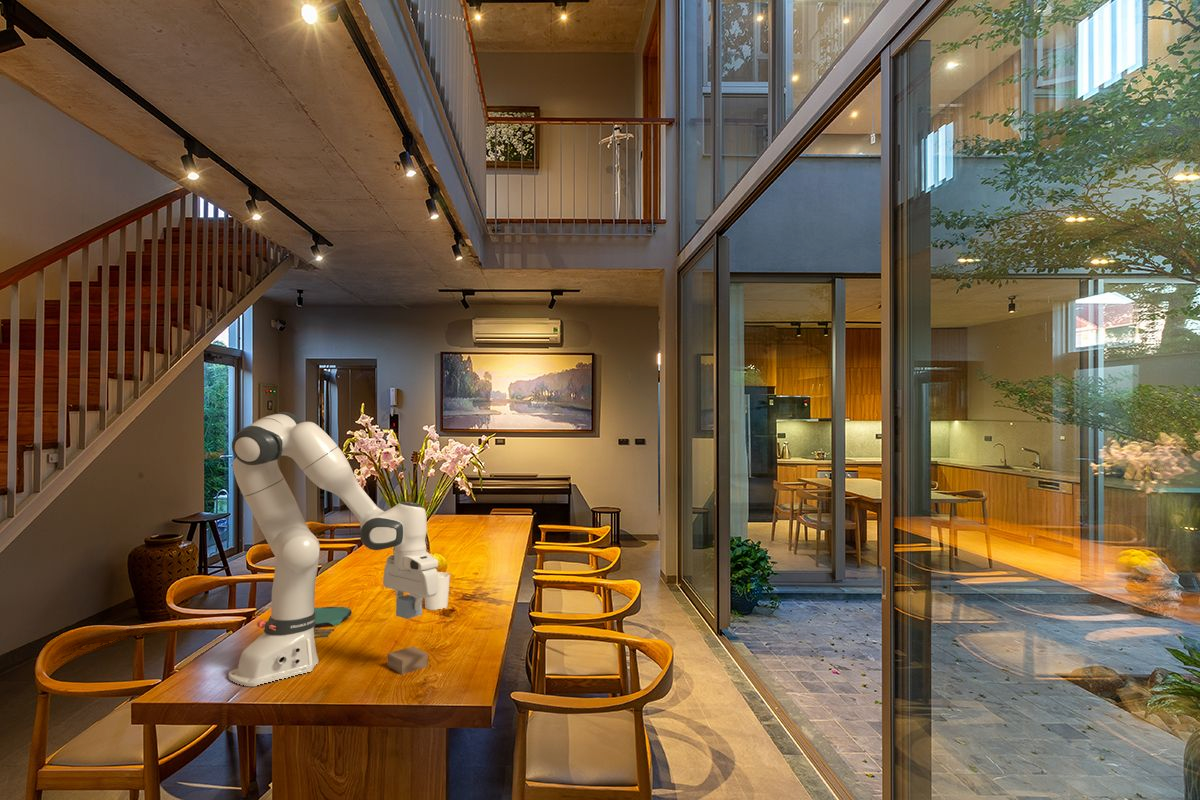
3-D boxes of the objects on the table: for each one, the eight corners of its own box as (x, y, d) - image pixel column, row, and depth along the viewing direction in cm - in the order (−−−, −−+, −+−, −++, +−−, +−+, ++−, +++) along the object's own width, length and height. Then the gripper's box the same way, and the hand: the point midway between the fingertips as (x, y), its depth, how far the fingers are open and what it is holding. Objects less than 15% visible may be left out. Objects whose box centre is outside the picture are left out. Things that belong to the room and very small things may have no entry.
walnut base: (401, 675, 172) (402, 660, 172) (387, 667, 177) (387, 653, 177) (427, 667, 178) (427, 653, 178) (412, 660, 183) (413, 646, 183)
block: (407, 618, 175) (407, 600, 175) (396, 615, 178) (396, 597, 178) (421, 614, 179) (422, 597, 179) (410, 611, 182) (410, 594, 182)
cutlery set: (358, 611, 230) (358, 604, 230) (333, 640, 200) (333, 633, 200) (301, 613, 228) (301, 606, 228) (267, 643, 198) (267, 635, 198)
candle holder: (418, 606, 236) (419, 574, 237) (442, 601, 243) (442, 570, 243) (430, 612, 229) (431, 579, 229) (454, 607, 235) (455, 575, 236)
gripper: (378, 556, 182) (377, 603, 182) (424, 565, 170) (423, 616, 170) (396, 552, 187) (395, 599, 187) (442, 561, 176) (441, 611, 175)
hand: (409, 607), depth 178 cm, fingers closed on block, 5 cm apart
